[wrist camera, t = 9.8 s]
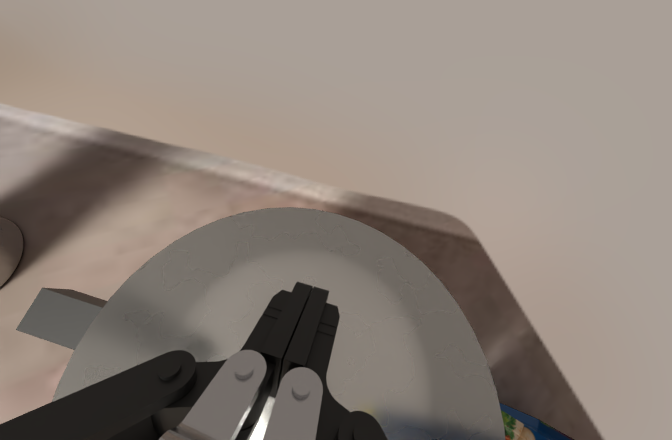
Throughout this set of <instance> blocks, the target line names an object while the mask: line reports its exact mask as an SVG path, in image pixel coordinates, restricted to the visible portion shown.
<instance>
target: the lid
mask: <svg viewBox="0 0 672 440" xmlns="http://www.w3.org/2000/svg"><path fill="white" fill-rule="evenodd" d="M297 282H301V283H304V284H308V285H311V286H313V287H314V286H315V287H318V288H321V289H325V290H328V291H329V295H328V299H327V303H329V304H332V305H335V306H338V311H339V315H340V319H339V323H338V327H337V331H336V336H335V340H334V344H333V349H332V353H331V357H330V361H329V366H328V370H327V375H326V381H327V386H328V389H329V391H330V393H331V395H332V396H333V398H334V399H335V400H336V401H337V402H338V403H340V404H341V405H342V406H343V407H345V408H346V409H347V410H348V411H350V412H353V411H363V412H366V413H368V414H370V415H371V416H373V417H374V418H375V419H376V420H377V422H378V423H379V424H380V426H381V428H382V430H383V432H384V433H385V435H386V437H387V439H388V440H505V430H504V423H503V419H502V414H501V409H500V404H499V400H498V395H497V390H496V387H495V384H494V381H493V378H492V375H491V372H490V369H489V366H488V363H487V360H486V357H485V355H484V353H483V351H482V348H481V346H480V344H479V342H478V340H477V337H476V335H475V333H474V331H473V329H472V327H471V325H470V324H469V322H468V320H467V319H466V317H465V315H464V314H463V312H462V310H461V308H460V307H459V305H458V304H457V302H456V301H455V300H454V298H453V297H452V296H451V294H450V293H449V292H448V290H447V289H446V288H445V286H444V285H443V284H442V282H441V281H440V280H439V279H438V278H437V277H436V276H435V275H434V274H433V273H432V272H431V271H430V270H429V269H428V267H427V266H426V265H425V264H424V263H423V262H422V261H420V260H419V259H418V258H417V257H416V256H414V255H413V254H412V253H411V252H410V251H408V250H407V249H406V248H405V247H404V246H402V245H401V244H399V243H398V242H396V241H395V240H393V239H392V238H390V237H388V236H387V235H385V234H384V233H382V232H380V231H378V230H376V229H374V228H372V227H370V226H368V225H366V224H364V223H362V222H360V221H357V220H354V219H351V218H348V217H345V216H342V215H339V214H335V213H330V212H326V211H321V210H316V209H306V208H293V207H287V208H267V209H261V210H255V211H249V212H243V213H240V214H236V215H233V216H229V217H226V218H223V219H219V220H217V221H215V222H212V223H210V224H208V225H205V226H203V227H200V228H198V229H196V230H194V231H192V232H191V233H189V234H187V235H185V236H183V237H182V238H180V239H178V240H176V241H174V242H173V243H172V244H170V245H169V246H167V247H166V248H165V249H163V250H162V251H160V252H159V253H157V254H156V255H155V256H153V257H152V258H151V259H150V260H148V261H147V262H146V263H145V264H144V265H143V266H142V267H140V268H139V269H138V270H137V271H136V272H135V273H134V274H133V275H131V276H130V277H129V278H128V279H127V281H126V282H125V283H124V284H123V285H122V286H121V287H120V288H119V289H118V290H117V291H116V292H115V294H114V295H113V296H112V297H111V298H110V299H109V300H108V302H107V303H106V304H105V306H104V307H103V308H102V310H101V311H100V312H99V314H98V315H97V316H96V318H95V319H94V320H93V322H92V323H91V324H90V326H89V328H88V329H87V331H86V333H85V334H84V336H83V338H82V339H81V341H80V342H79V344H78V346H77V347H76V349H75V351H74V352H73V355H72V357H71V359H70V361H69V363H68V365H67V367H66V369H65V371H64V373H63V375H62V377H61V380H60V382H59V384H58V387H57V389H56V392H55V395H54V398H53V400H52V402H53V401H56V400H58V399H60V398H63V397H65V396H67V395H70V394H72V393H74V392H77V391H79V390H81V389H84V388H86V387H88V386H90V385H93V384H95V383H97V382H100V381H102V380H104V379H107V378H109V377H111V376H114V375H116V374H118V373H120V372H123V371H125V370H127V369H130V368H132V367H134V366H137V365H139V364H141V363H144V362H146V361H148V360H151V359H153V358H155V357H157V356H160V355H162V354H164V353H167V352H170V351H175V350H183V351H187V352H189V353H191V354H192V355H193V356H194V358H195V361H196V362H215V361H222V360H225V359H228V358H229V357H230V356H232V355H233V354H235V353H237V352H239V351H240V350H241V349H242V347H243V346H244V344H245V342H246V341H247V339H248V337H249V336H250V334H251V332H252V331H253V329H254V327H255V326H256V324H257V322H258V321H259V319H260V317H261V316H262V314H263V312H264V311H265V309H266V308H267V306H268V304H269V302H270V301H271V299H272V297H273V296H274V295H276V294H277V293H278V292H280V291H281V290H285V291H289V292H292V290H293V288H294V286H295V284H296V283H297ZM276 396H277V395H276ZM275 399H276V398H273V397H270V396H269V397H268V399H267V402H266V404H265V407H264V409H263V412H262V414H261V416H260V419H259V422H258V424H257V426H256V428H255V430H254V432H253V434H252V436H251V439H250V440H263V438H264V434H265V431H266V428H267V425H268V421H269V418H270V415H271V412H272V408H273V405H274V402H275Z"/></svg>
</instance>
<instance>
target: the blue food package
mask: <svg viewBox="0 0 672 440" xmlns="http://www.w3.org/2000/svg"><path fill="white" fill-rule="evenodd" d="M499 404H500V409H501V414H502V419H503V423H504V430H505V440H574V439H572V438H570V437H569V436H567V435H565V434H563V433H561V432H560V431H558V430H556V429H554V428H553V427H551V426H549V425H547V424H546V423H544V422H542V421H540V420H538V419H536V418H534V417H532V416H529V415H527V414H525V413H522V412H520V411H518V410H515V409H513V408H511V407H508V406H506V405H504V404H501V403H499Z"/></svg>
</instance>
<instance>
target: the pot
mask: <svg viewBox="0 0 672 440" xmlns="http://www.w3.org/2000/svg"><path fill="white" fill-rule="evenodd" d="M107 302H108V301H105V300H102V299H99V298H96V297H93V296H90V295H87V294H84V293H81V292H77V291H74V290H69V289H52V288H42V289H41V291H40V292H39V294H38V295H37V297H36V299H35V300H34V302H33V303H32V305H31V307H30V308H29V310H28V311H27V313H26V314H25V316H24V318H23V319H22V321H21V322H20V324H19V326H18V327H17V329H16V330H18V331H21V332H24V333H27V334H30V335H33V336H35V337H38V338H41V339H44V340H47V341H50V342H53V343H56V344H59V345H61V346H64V347H67V348H70V349H73V350H75V349H76V347H77V346H78V344H79V342H80V341H81V339H82V338H83V336H84V334H85V333H86V331H87V329H88V328H89V326H90V324H91V323H92V322H93V320H94V319H95V318H96V316H97V315H98V314H99V312H100V311H101V310H102V308H103V307H104V306H105V304H106V303H107Z"/></svg>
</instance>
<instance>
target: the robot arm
mask: <svg viewBox="0 0 672 440" xmlns="http://www.w3.org/2000/svg"><path fill="white" fill-rule="evenodd" d="M22 251H23V237H22V234H21V231H20V230H19V228H18V226H16V225H15V224H14V223H13V222H12V221H10V220H7V219H5V218H2V217H0V287H1V286H2V285H3V284H4V283H5V282H6V281H7V279H8V278H9V277H10V276H11V275H12V273H13V272H14V270H15V269H16V267H17V265H18V263H19V261H20V258H21V255H22ZM328 295H329V291H328V290H325V289H321V288H318V287H315V286H314V287H313V286H311V285H308V284H304V283H301V282H297V283H296V284H295V286H294V288H293V290H292V292H289V291H285V290H281V291H280V292H278V293H277V294H276V295H274V296H273V297H272V299H271V301H270V302H269V304H268V306H267V308H266V309H265V311H264V312H263V314H262V316H261V317H260V319H259V321H258V322H257V324H256V326H255V327H254V329H253V331H252V332H251V334H250V336H249V337H248V339H247V341H246V342H245V344H244V346H243V347H242V349H241V350H240V351H239V352H237V353H235V354H233V355H232V356H230V357H229V358H228V359H225V360H222V361H215V362H196V361H195V358H194V356H193V355H192V354H191V353H189V352H187V351H183V350H175V351H170V352H167V353H164V354H162V355H160V356H157V357H155V358H153V359H151V360H148V361H146V362H144V363H141V364H139V365H137V366H134V367H132V368H130V369H127V370H125V371H123V372H120V373H118V374H116V375H114V376H111V377H109V378H107V379H104V380H102V381H100V382H97V383H95V384H93V385H90V386H88V387H86V388H84V389H81V390H79V391H77V392H74V393H72V394H70V395H67V396H65V397H63V398H60V399H58V400H56V401H53V402H51V403H49V404H47V405H44V406H42V407H40V408H37V409H35V410H33V411H30V412H28V413H26V414H23V415H21V416H19V417H16V418H14V419H12V420H10V421H7V422H5V423H3V424H0V440H250V439H251V436H252V434H253V432H254V430H255V428H256V426H257V424H258V422H259V419H260V416H261V414H262V412H263V409H264V407H265V404H266V402H267V399H268V397H269V396H270V397H273V398H276V399H275V402H274V405H273V408H272V412H271V415H270V418H269V421H268V425H267V428H266V431H265V434H264V438H263V440H388V439H387V437H386V435H385V433H384V432H383V430H382V428H381V426H380V424H379V423H378V422H377V420H376V419H375V418H374V417H373V416H371V415H370V414H368V413H366V412H363V411H353V412H350V411H348V410H347V409H346V408H345V407H343V406H342V405H341V404H340V403H338V402H337V401H336V400H335V399H334V398H333V396H332V395H331V393H330V391H329V389H328V386H327V381H326V375H327V370H328V366H329V361H330V357H331V353H332V349H333V344H334V340H335V336H336V331H337V327H338V323H339V319H340V315H339V311H338V306H335V305H332V304H329V303H327V299H328ZM276 395H277V396H276Z"/></svg>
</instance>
